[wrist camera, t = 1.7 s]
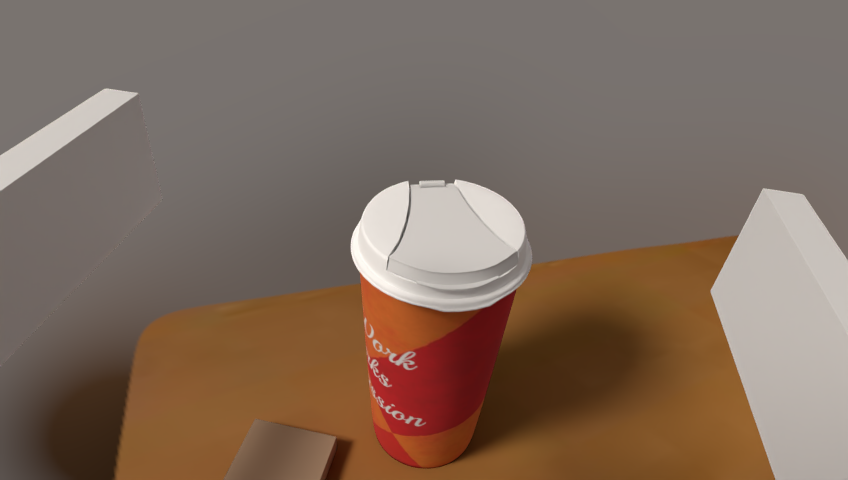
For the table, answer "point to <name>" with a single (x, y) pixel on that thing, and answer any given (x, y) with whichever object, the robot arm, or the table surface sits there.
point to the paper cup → (435, 310)
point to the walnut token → (282, 454)
